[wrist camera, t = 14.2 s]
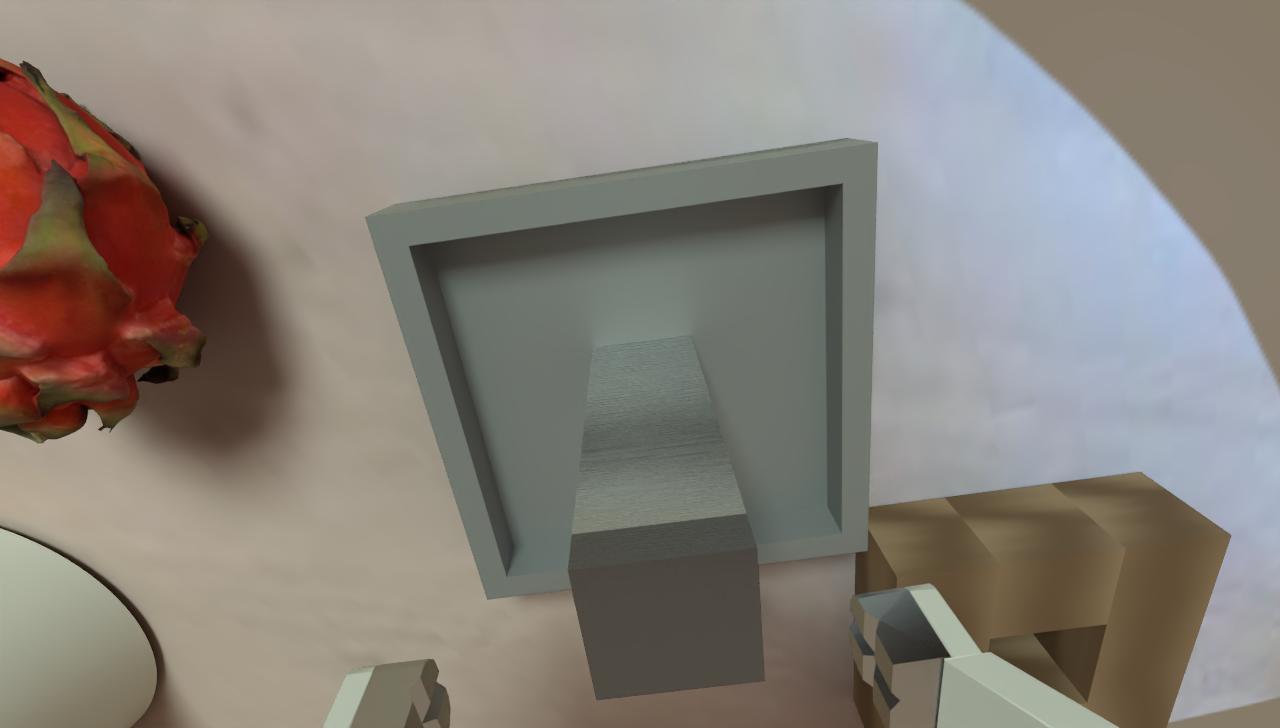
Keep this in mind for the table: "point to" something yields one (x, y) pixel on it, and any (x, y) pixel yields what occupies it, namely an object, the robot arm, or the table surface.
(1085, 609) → the hitch block
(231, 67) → the table surface
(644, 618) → the metal pin
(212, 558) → the table surface
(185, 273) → the dragon fruit
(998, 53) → the table surface
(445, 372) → the tray
